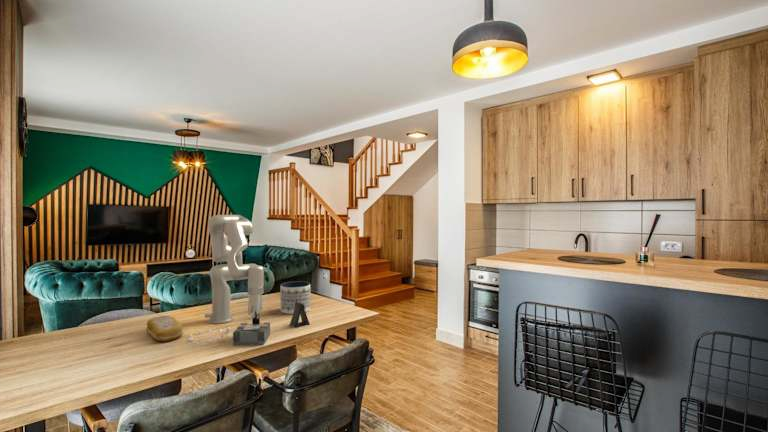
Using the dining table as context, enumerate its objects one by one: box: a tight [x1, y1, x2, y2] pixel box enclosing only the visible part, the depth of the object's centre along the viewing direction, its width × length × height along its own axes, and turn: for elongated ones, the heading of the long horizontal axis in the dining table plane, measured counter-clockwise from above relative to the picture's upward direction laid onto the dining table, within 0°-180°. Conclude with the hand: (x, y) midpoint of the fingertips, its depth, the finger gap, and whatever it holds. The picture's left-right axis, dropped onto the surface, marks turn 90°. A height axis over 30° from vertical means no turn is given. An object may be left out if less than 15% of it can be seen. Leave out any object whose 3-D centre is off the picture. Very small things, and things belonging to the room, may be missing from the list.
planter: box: [279, 280, 311, 315], centre depth 229 cm, size 18×18×16 cm
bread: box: [145, 315, 184, 343], centre depth 184 cm, size 13×26×8 cm, turn 48°
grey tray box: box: [236, 323, 267, 331], centre depth 178 cm, size 14×9×5 cm, turn 96°
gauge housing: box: [232, 322, 271, 347], centre depth 178 cm, size 14×14×6 cm
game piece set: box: [187, 325, 231, 345], centre depth 181 cm, size 19×20×4 cm
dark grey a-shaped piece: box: [289, 302, 310, 328], centre depth 201 cm, size 9×6×12 cm, turn 126°
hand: (256, 326), depth 185 cm, fingers closed
